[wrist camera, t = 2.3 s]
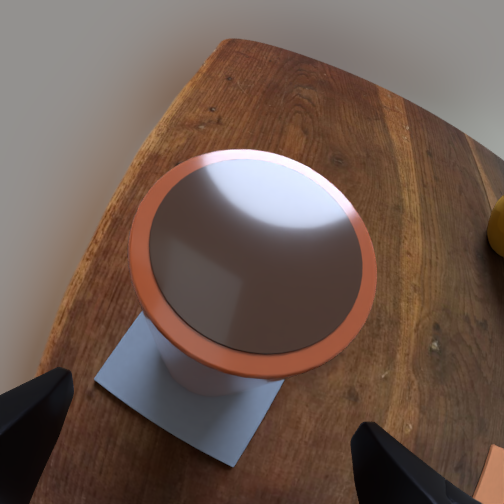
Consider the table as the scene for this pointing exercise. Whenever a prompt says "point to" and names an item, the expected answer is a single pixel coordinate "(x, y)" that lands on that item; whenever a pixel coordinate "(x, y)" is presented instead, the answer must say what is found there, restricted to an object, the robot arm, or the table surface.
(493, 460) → the terracotta mat
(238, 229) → the terracotta pot
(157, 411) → the slate mat
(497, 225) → the apple
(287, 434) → the table surface
